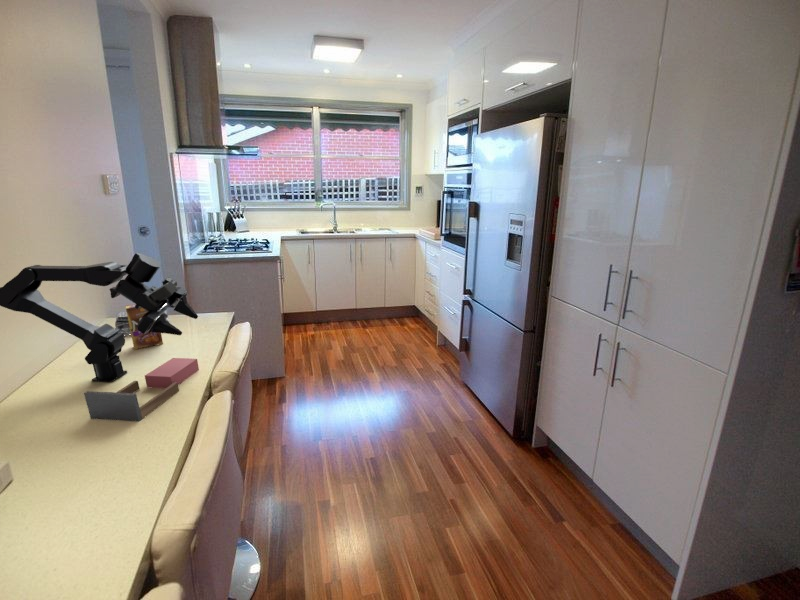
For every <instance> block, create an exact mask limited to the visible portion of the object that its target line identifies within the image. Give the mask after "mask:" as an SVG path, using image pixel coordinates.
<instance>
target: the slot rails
mask: <svg viewBox="0 0 800 600" xmlns="http://www.w3.org/2000/svg"><path fill="white" fill-rule="evenodd" d="M137 391H140V384H139V380H133V381H132V382H130V383H129V384H127V385H126V386H123V387H122V388H121V389H119V390H116V392H115V393H136V392H137ZM178 392H180V388H179V385H178V383H177V382H174V383H173V384H171V385H170V386H169V387H167V388H164V389H163V390H162V391H161V392H159V393H157V394H155V396H153V397H152V398H151V399H150V400H148V401H146V402H145V403H144V404H142V405H141V406H139V408H140V412H141V417H142V420H143V419H145V418H146V417H147V416H148V415H150V414H151V413H152V412H154V411H155V410H156V409H158V408H159V407H160V406H161V405H163V404H164V403H165V402H167V401H168V400H169V399H170V398H172V397H173V396H175V395H176V394H177V393H178ZM158 406H159V407H158ZM154 409H155V410H154ZM145 416H146V417H145Z"/></svg>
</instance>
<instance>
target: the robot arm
mask: <svg viewBox="0 0 800 600" xmlns="http://www.w3.org/2000/svg"><path fill="white" fill-rule="evenodd" d="M161 267H162V265H161V262H160V261H159V260H157V259H156V258H154V257H152V256H149V255H148V254H147V255H146V254H142V253H141V252H136V253H134V255H133V256H132V259H131V260H130V262H128V265H127V264H123V265H120V264H119V263H118V262H115V261H107V262H102V263H101V262H100V263H96V264H91V265H86V266H85V265H41V264H34V265H30V266H27V267H24V268H23V269H21V270H20V272H19V273H18V274H17V275H15V276H14V277H13V278H12V279H10V280H9V281H7V282H6V283H5V284H3V286H1V287H0V307H1V308H5V309H7V310H10V311H14V312H19V313H26V314H31V315H33V316H35V317H37V318H39V319H40V320H43V321H44V322H47V323H49V324H51V326H52V325H53V326H55V327H56V328H58V329H60V330H62V331H64V332H66V333H68V334H70V335H72V336H73V337H76V338H78V339H80V340H81V341H82V342H83V343H84V345H85V347H86V348H87V349H88V350H90V351H89V352H88V353H87V355H86V356H85V357H84V360H85V361H86V363H87V364H88V365H92V366H93V371H94V375H95V377H94V378H93V377H92V379H91V382H99V383H100V382H101V383H103V382H104V383H105V382H106V383H111V382H114V381H115V380H117V379H119V378H120V377H122V376H124V375H125V374H127V373H128V370H124V367H123V365H122V361H121V359H120V355H118V354H120V353H122V348H123V347H124V346H125V345H126V337H125V336H124V335H123V334H122V333H121V332H119V331H120V330H119V329H116V327H113V326H112V325H110V324H108V323H105V324H103V325H101V326H98V325H94V324H92V323H90V322H88V321H86V320H85V319H82V318H81V317H78V316H76V315H74V314H73V313H71V312H69V311H67V310H65V309H63V308H61V307H60V306H57V305H56V304H54V303H52V302H50V301H49V300H47V299H45V297H44V296H43V294H42V293H41V291H40V290H38V289H39V288H40V287H41V284H42V283H43V282H81V283H82V282H83V283H86V284H88V285H94V286H98V287H107V286H109V285H112V284H115V283H117V284H116V285H115V286H112V287H111V288H109V291H110V298H111V299H114V298H117V297H118V296H122V297H124V298H126V299H127V300H129V301H130V302H132V303H134V305H135V308H137V309H139V308H140V307H141V308H143V309H145V310H146V311H148V312H147V313H146V314H145V315H144V316H143V317H142V318H141V320H140V321H139V323H138V325H137V326H136V327H137V329H138V331H140V332H142V333H143V334H145V333H146V332H147V331H149V332H148V333H151V332H156V333H161V334H166V335H167V334H168V335H174V336H182V334H183V331H181V330H180V329H179V328H178V327H176V326H174V325H173V324H172V323H170V321H169V322H167V321H166V320H165V318H164V316H163V314H162V313H163V312H165V311H167V310H168V309H170V308H171V309H173V311H174V312H177V313H180V314H182V315H185V316H186V317H189V318H192V319H194V320H196V319H198V318H199V315H198V314H197V313H196V312H195V310H194V309H193V308H192V307H191V305H190V303H189V302H188V299H187V297H188V294H187V292H188V291H187V289H185V288H184V287H182V286H179V287H178V282H177V281H175V279H173V278H171V277H167V278H165V279H164V280H162V285H161V286H160V287H156V286H150V287H149V286H147V285H146V284H145V283H149V282H151V280H152V279H153V278H154V277H155V275H156V273H157V272H158V271H159V269H160V268H161ZM125 276H126V277H125ZM124 277H125V278H124ZM160 310H161V311H160ZM161 314H162V315H161ZM160 315H161V316H160ZM159 316H160V317H159Z"/></svg>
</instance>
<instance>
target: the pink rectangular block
mask: <svg viewBox="0 0 800 600" xmlns="http://www.w3.org/2000/svg"><path fill="white" fill-rule="evenodd" d="M199 368H200V367H199V362H198V358H189V357H188V358H186V357H185V358H183V357H172V358H171V359H169V360H167V361H165V362H164V363H162V364H161V365H160V366H158V367H156V368H155V369H153V370H151V371H150V372H148V373H146V374H145V375H144V379H145V380H144V381H145V384H146V387H147V388H148V387H152V389H166V388H167V387H169V386H170V385H171V384H173V383H174V382H177V383H178V386H179V385H180V384H181V383H183V382H184V381H186V380H187V379H188V378H190V377H191V376H193V375H194V374H195V373H197V372H198V371H199V370H200V369H199Z"/></svg>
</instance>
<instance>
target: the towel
mask: <svg viewBox="0 0 800 600" xmlns="http://www.w3.org/2000/svg"><path fill="white" fill-rule="evenodd" d="M160 311H161V310H160ZM162 314H163V316H164V318H165V320H166V321H167V322H169V323H170V320H169V314H168V311H167V310H166V311H165V312H163V313H162ZM162 314H161V315H162ZM161 315H160V316H161ZM160 316H159V317H160ZM114 326H115V329H119V330H120V331H119V332H121V333H122V334H123V335H128V336H130V335H129V334H131V331H130V326H129V322H128V317H127V312H126V310H125V311H121V312H118V313H117V314H116V317H115V323H114Z"/></svg>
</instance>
